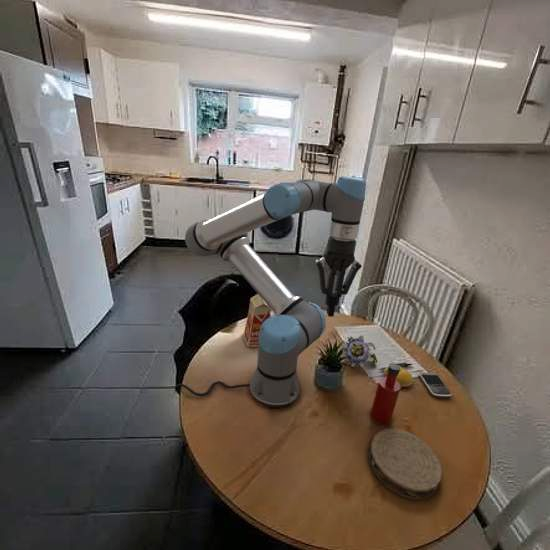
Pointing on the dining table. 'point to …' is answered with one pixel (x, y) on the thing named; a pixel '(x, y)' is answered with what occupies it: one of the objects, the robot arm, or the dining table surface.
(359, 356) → the passion flower
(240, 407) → the dining table surface
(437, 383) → the cell phone
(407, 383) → the yellow rounded piece
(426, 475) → the woven round trivet
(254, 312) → the milk carton
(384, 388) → the hot sauce bottle
